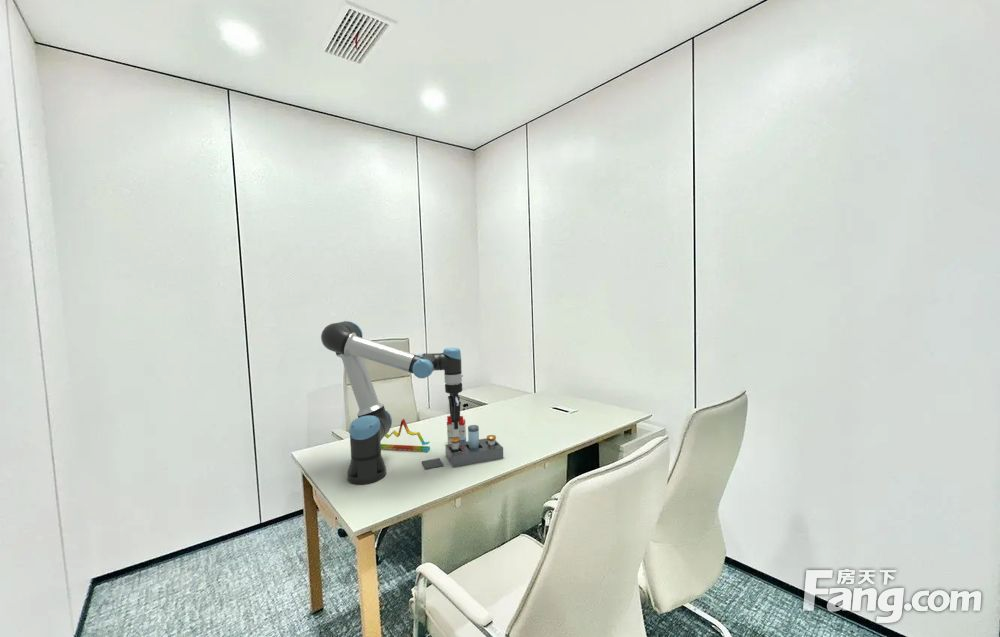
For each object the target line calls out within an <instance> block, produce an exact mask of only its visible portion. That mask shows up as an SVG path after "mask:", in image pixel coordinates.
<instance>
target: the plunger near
mask: <svg viewBox="0 0 1000 637" xmlns="http://www.w3.org/2000/svg"><path fill="white" fill-rule="evenodd" d="M450 440H451V443H452V453H454V452H459V442H460V438H459V437H453V438H451V439H450Z"/></svg>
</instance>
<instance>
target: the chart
mask: <svg viewBox="0 0 1000 637" xmlns="http://www.w3.org/2000/svg"><path fill="white" fill-rule="evenodd" d="M403 427H404V429H405V432H406V434H408V435H409V436H417V437H418V439H419V441H420V443H421V445H410V444H409V445H406V444H390V443H389V444H385V443H381V451H396V452H415V453H416V452H417V453H429V451H430V450H431V446H430V445H429V444H430V441H424V438H423V437H422V435H421V433H420V432H419V431H416V432H414V431H411V430H409V427H408V425H407V422H406V420H405V418H403V419H402V420H401V421H400V426H399V429H398V432H397V430H395V429H394V430H393V431H392V432H390V434H389V433H387V434H386V435H385V436H384V437H385V438H387V439H389V438H390V437H391V436H392V435H394V436H395V437H397V438H399V437H400V436H401V432H402V429H403ZM425 445H427V446H425ZM428 445H429V446H428Z"/></svg>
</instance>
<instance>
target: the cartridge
mask: <svg viewBox="0 0 1000 637" xmlns="http://www.w3.org/2000/svg"><path fill="white" fill-rule="evenodd" d="M479 429H480V428H479V425H477V424H471V425H468V426H467V441H468V445H469V450H472V449H478V448H479V439H480V433H479V432H480V431H479Z"/></svg>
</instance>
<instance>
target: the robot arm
mask: <svg viewBox="0 0 1000 637" xmlns="http://www.w3.org/2000/svg"><path fill="white" fill-rule="evenodd" d="M320 339H321V343H322V345H323V346H324V348H326V349H327V350H329V351H330V352H334V353H335V356H336V357H338V358H340V359H341V360H342V363H343V366H344V369H345V372H346V376H347V378H348V381H349V384H350V387H351V390H352V392H353V395H354V398H355V401H356V403H357V406H358V413H357V418H355V419H353V420H352V421H351V422H350V424H349V425H350V426H349V432H348V433H349V441H350V442H349V443H350V463H349V466H348V471H347V476H346V479H347V482H348V483H351V484H353V485H366V484H371V483H375V482H377V481H381V479H383V478H384V477H385V476H386V475H387V467H386V465H385V461H384V459H383V457H382V450H381V444H382V443H381V441H382V440H383V438H384V437H385V435H386V434H389V432H390V430H391V428H392V426H393V418H392V415H391V414H390V412H389V411H388V410H386V408H385V405H384V404H383V403H381V402H380V401H379V399H378V395H377V393H376V391H375V388H374V384H373V382H372V379H371V376H370V373H369V370H368V366H367V364H366V362H365V359H366V360H369V361H372V362H374V363H375V362H376V363H378V364H381V365H385V366H389V367H392V368H395V369H398V370H401V371H404V372H407V373H410V374H413V375H414V376H415V377H417V378H418V379H426V378H429V376H431V375H432V374H433V373H434V372H435V371H443V372H444V383H445V384H444V391H445V393H446V394H449V395H448V396H447V399H448V405H449V407H448V408H449V416H450V418H451V420H452V421H451V422H452V436H453V437H454V436H459V421H460V416H461V406H462V405H461V399H460V396H459V393H462V392H463V383H462V382H463V378H462V377H464V375H463V374H462V355H461V354H462V353H461V349H460V348H459V347H446V348H444V349H443V352H440V353H439V352H437V353H418V354H415V353H411V352H408V351H405V350H401V349H398V348H396V347H392V346H389V345H386V344H383V343H380V342H377V341H374V340H370V339H367V338H363V331H362V328H361V327H360V326H359V325H358V324H357V323H355V322H353V321H350V320H349V321H347V320H345V321H340V322H334V323H330V324H328V325H327V326H325V327H324V328H323V330H322V332H321V335H320Z"/></svg>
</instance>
